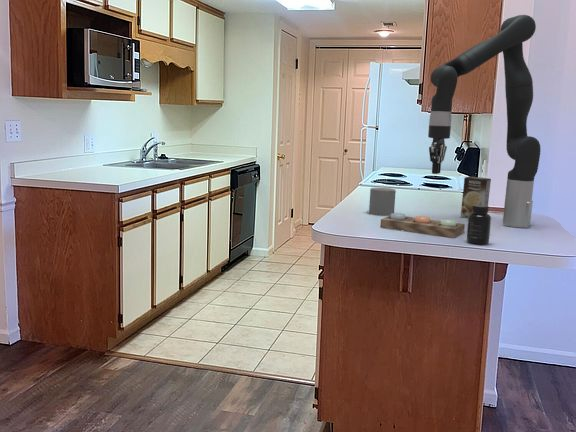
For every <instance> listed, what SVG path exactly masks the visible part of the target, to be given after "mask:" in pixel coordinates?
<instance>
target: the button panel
mask: <svg viewBox="0 0 576 432" xmlns="http://www.w3.org/2000/svg"><path fill="white" fill-rule="evenodd" d="M415 217H416V216H415ZM415 217H413V216H406V215H405V220H396V219H391V216H385V217H383V218H380V227H379V228H380V229H387V228H388V229H389V230H394V229H396V230H395V231H401V230H404V231H403V232H408V231H411V232H410V233H415V232H418V233H417V234H422V233H423V235H431V236H437V237H444V238H452V239H455V238H457V237H459V236H460V235H462V234H464V233H465V228H466V227H465V225H466V224H465V223H460V222H456V227H448V226H441V220H438V219H430V223H428V224H426V223H418V222H415ZM388 229H387V230H388Z"/></svg>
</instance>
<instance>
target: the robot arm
mask: <svg viewBox="0 0 576 432" xmlns="http://www.w3.org/2000/svg"><path fill="white" fill-rule="evenodd" d="M536 28H537V25H536V22H535V20H534V17H532V16H530V15H527V14H519V15H516V16H512V17H509V18H507V19H505V20H504V21H503V22H502V24H501V25H500V31H499V32H498V33H497V34H495V35H492V37H490V38H488V39H486V40H484V41H481V42H479V43H477V44H475V45H473V46H471V47H469V48H468V49H466V50H465V51H464V52H462V53H460V54H459V55H457V56H456V57H454V58H453V59H450V60H449V61H447V62H445V63H443V64H441V65H439V66H438V67H436V68H434V69H433V71H432V72H431V74H430V82H431V84H432V85H433V86H434V87H436V92H435V94H434V95H433V96H432V98H431V105H430V106H431V107H430V115H429V119H428V120H429V121H428V133H427V134H428V135H427V136H428V138H429V139H432V142H431V144H430V146H429V147H428V152H429V161H430V162H431V163H432V164H431V166H432V167H431V173H432V174H433V175H438V174H441V169H442V163H443V162H444V160H445V156H446V152H447V149H448V147H447V145H446V143H445V140H446V139H451V128H452V108H453V107H452V106H453V98H454V96H455V92H456V89H457V85H458V84H457V83H458V78H459V77H461V76H465V75H467V74H469V73H471V72H473V71H474V70H476V69H477V68H479V67H480V66H482V65H483V64H485V63H487V62H488V61H489V60H491V59H492V58H494V57H496V56H498V55H499V54H501V53H502V56H503V65H504V67H503V68H504V85H505V86H504V88H505V89H504V91H505V101H506V103H505V104H506V120H507V121H506V122H507V125H506V153H507V155H508V157H509V158H510V159H512V160H514V165H513V168H512V169H511V170H509V171H508V172H507V177H506V178H507V179H506V188H505V197H504V205H503V206H504V208H503V215H502V216H503V218H502V225H503V226H507V227H511V228H525V229H528V228H529V227H530V226H531V219H532V214H533V213H532V211H533V203H534V201H533V191H534V184H535V176H536V175H537V173H538V169H539V164H540V159H541V149H542V148H541V144H540V141H539V140H538V139H537V138H535V137H533V136H529V135H528V129H527V125H528V124H527V123H528V116H529V113H530V110H531V107H532V104H533V102H534V101H533V100H534V82H533V77H532V75H531V71H530V70H529V68H528V65H527V63H526V61H525V58H524V49H523V47H524V45H523V43H524V42H526V41H527V42H528V40H530V39H531V38H532V37H533V36H534V35H535V32H536V30H537V29H536Z"/></svg>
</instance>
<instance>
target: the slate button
mask: <svg viewBox="0 0 576 432" xmlns="http://www.w3.org/2000/svg"><path fill="white" fill-rule="evenodd" d="M405 216H406V214H405V213H401V212H394V213H391V219H396V220H405Z"/></svg>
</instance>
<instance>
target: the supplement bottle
mask: <svg viewBox="0 0 576 432" xmlns="http://www.w3.org/2000/svg"><path fill="white" fill-rule="evenodd" d="M472 211H473V213H471V214H470V215H469V217H468V218H467V219H468V220H467V231H466V242H467V243H468V244H471V245H477V246H483V245H485V246H486V245H488V244H489V242H490V237H491V236H490V235H491V234H490V233H491V223H492V216H491V215H490V214H488V213H489V211H490V210H489V205H488V206H486V205H473V208H472Z"/></svg>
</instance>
